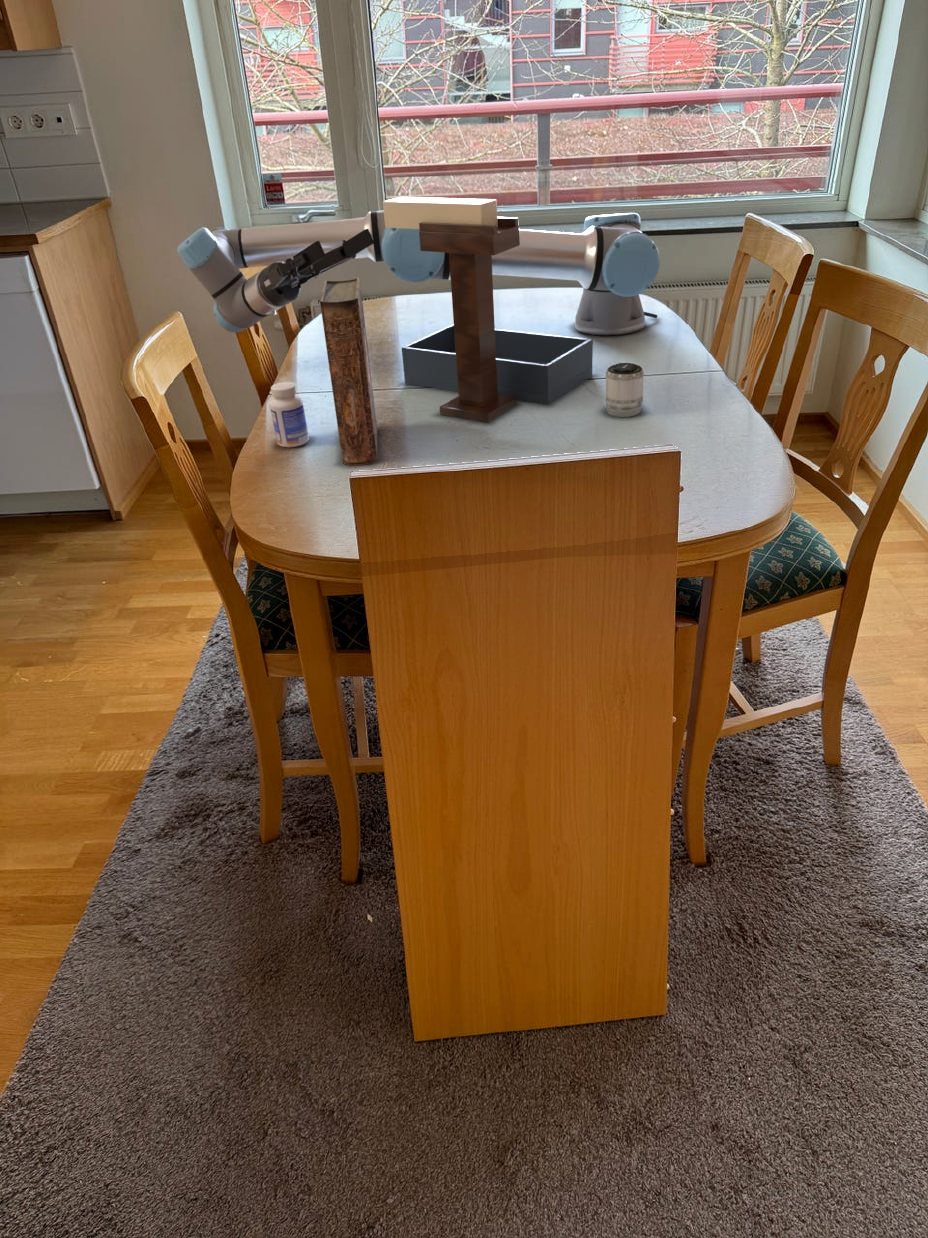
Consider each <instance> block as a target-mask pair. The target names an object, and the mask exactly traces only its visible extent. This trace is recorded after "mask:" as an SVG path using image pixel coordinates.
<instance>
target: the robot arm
mask: <svg viewBox="0 0 928 1238" xmlns="http://www.w3.org/2000/svg"><path fill="white" fill-rule="evenodd" d="M641 227H642V223H641V217H640V215H639V214H638V213H636V212H625V213H611V214H599V215H590V216H587V217H586V218H585V220H584V222H583V230H582V233H574V232H561V231H549V230H548V231H547V230H535V229H521V228H519V236H520V246H517V247H515V248H512V249H509V250H507V251H504V252H502V253H499V254H497V255H494V256H493V255H491V256H492V276H493V275H494V276H506V277H508V276H509V277H523V278H536V279H537V278H539V279H549V280H550V279H553V280H566V281H567V280H568V281H577V282H578V283H579V285H581V287H582V290H583V291H582V294H581V298H580V301H579V303H578V307H577V311H576V314H575V317H574V329H576V331H578V332H580V333H582V334H587V335H594V336H617V335H625V334H633V333H635V332H638V331H640V330H642V329H644V327H645V326H646V317H649V318H653V319H657V318H658V314H655V313H651V312H648V311H644V307H643V305H642V301H641V297H640V294H643V292H645V291H647V289H649V287H650V286H651V285H653V283H654V281H655V280H656V278H657V276H658V273H659V270H660V264H661V257H660V252H659V249H658V247H657V245H656V244H655V242H654V240H653V239H652V237H650V236H649V235H648V234H646V233H644V232H642V231H641ZM419 231H420V229H404V228H385V220H384V210H372V211H368V213H367V214H366V215H365V216H364V217H356V218H346V219H334V220H323V221H312V222H302V223H301V222H300V223H290V224H289V223H288V224H278V225H267V226H255V227H243V228H231V229H229V228H226V227H216V228H213V229H211V230H209V229H208V228H207V227H203V226H202V227H201V228H199V229H197V230H196V231H195V232H193V233H192V234H191V235H189V236H188V237H187V238H185V240H184V241H183V242H182V243H180V244H179V245H178V246H177V249H176V252H177V254H178V256H179V257H180V258H181V260H182V261H183V264H184V265H185V267H186V268H187V269H189V271H190V272H191V273H192V274H193V275H194V277H196V279H197V280H198V281H199V283H200V284H201V285H202V286H203V288H205V290H206V291H207V293H209V295H210V296H211V297H212V298H213V300H214V304H213V315H215V320H216V322H217V323H218V325H219V326H220V327H222V329H224V330H225V331H227V332H230V333H240V332H242V331H244V330H246V329H249V328H252V327H253V326H255V325H256V324H257V323H259V322H261V321H262V320H264V319H265V318H267V317H268V316H271V315H272V316H273V317H274V316H276V315H277V312H276V311H278V310H280V309H281V308H284V307H285V306H287V305H289V304H291V303H293V302H294V301H295V300H297V299H298V298H299V296H300V294H301V290H302V289H301V287H302V286H303V285H305V284H308V283H309V281H310V280H312V279H317V278H318V277H320V276H322V275H323V274H325V273H327V272H329V271H332V270H333V269H334V268H335V269H336V268H337V267H339V266H340V265H344V264H345V263H346V262H348V261H350V260H355V259H364V258H369V259H370V260H371V261H373V263H379V262H384V263H385V265H386V267H387V268H388V269H389V271H390V272H391V273H392V274H393V275H394V276H396V277H397V278H398V279H400V280H402V281H404V282H408V283H423V282H426V281H428V280H430V279H432V280H446V281H447V280H448V281H451V277H450V262H449V253H444V252H428V251H421V250H420V238H419ZM259 267H260V268H261V267H265V268H263V269H261V270H260V271H258V272H256V273H255V274H253V275H252V276H250V277H248V278H247V277H246V276H245V275H244V274H243V272H242V271H241V270H240V269H248V268H259Z"/></svg>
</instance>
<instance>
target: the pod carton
mask: <svg viewBox="0 0 928 1238" xmlns="http://www.w3.org/2000/svg"><path fill="white" fill-rule="evenodd" d="M382 209H383V210H384V220H385V228H404V229H419V223H421V222H433V223H456V224H480V225H497V227H498V217H499V216H498V200H497V199H496V198H493V199H492V198H462V197H461V198H457V197H450V198H449V197H421V196H420V197H419V196H417V197H416V196H398V197H395V198H391V199H390V198H389V199H387V200H383V201H382Z"/></svg>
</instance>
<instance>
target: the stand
mask: <svg viewBox="0 0 928 1238" xmlns="http://www.w3.org/2000/svg"><path fill="white" fill-rule="evenodd" d="M497 217H498V227H497V225H480V224H456V223H433V222H421V223H419V229H420V231H419V238H420V250H421V251H428V252H444V253H449V262H450V277H451V279H450V289H451V291H450V292H451V305H452V318H453V319H452V320H453V324H454V335H455V350H456V365H457V379H458V392H457V393H458V396H456V397H455V398H453V399H451V400H449V401H447V402H445V403H444V404H442V405H440V406H439V415H440V416H445V417H451V418H457V419H462V420H469V421H473V422H474V421H475V422H481V423H486V424H489V423H491V422H493V420H495V419H497V418H498V417H500V416H502V415H503V414H505V413H507V412H508V411H510V410H511V409H513V408H514V407H516V406H518V401H517V396H510V395H504V394H498V390H497V368H496V345H495V329H496V328H495V327H496V325H495V304H494V301H495V300H494V283H493V280H494V279H493V275H492V256H491V255H493V256H494V255H497V254H499V253H502V252H504V251H507V250H509V249H512V248H515V247H517V246H520V236H519V229H520V224H519V217H513V216H512V217H510V216H509V217H508V216H497Z"/></svg>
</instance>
